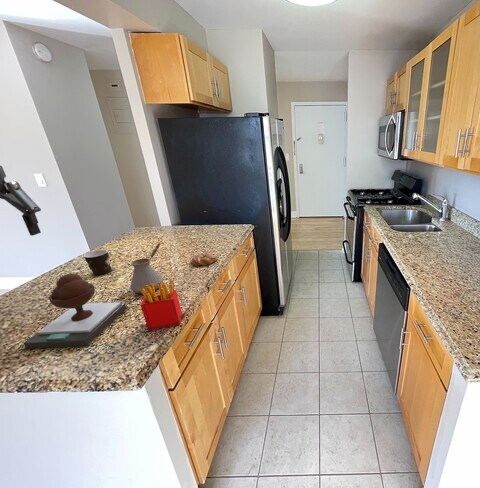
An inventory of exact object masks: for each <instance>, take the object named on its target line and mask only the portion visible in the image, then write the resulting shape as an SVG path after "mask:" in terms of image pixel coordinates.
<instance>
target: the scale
mask: <svg viewBox="0 0 480 488" xmlns="http://www.w3.org/2000/svg"><path fill="white" fill-rule="evenodd" d="M82 308H83V310H91V311H92V312H93V314H92V315H91V316H90V317H88V318H86V319H84V320H80V321H72V319H71V317H72V316H73V315H74V314H76V313H77V311H76V309H75V308H73V309H70V308H68V309H67V310H66V311H65V312H64V313H62V314H61V315H59V316H58V317H56V318H55V319H53V321H51V322H49V323H48V324H47V325H46V326H44V327H43V328H41V329H40V330H39V331H37V332H36V333H34V335H32V336H31V337H30V338H28V339H26V340H25V341H23V342H22V344H23V346H24V347H25V349H26V350H33V349H36V350H37V349H38V350H39V349H55V348H57V349H58V348H77V347H88V345H90V344H91V343H92V342H93V341H94V340H95V339H96V338H97V337H98V336H100V334H102V332H103V331H104V330H105V329H107V328H108V327H109V326H110V325H111V324H112V323H113V322H114V321H115V320H116V319H117V318H118V317H120V316H121V314H123V313H124V312H125V311H126V310H127V305H126V303H124V302H122V303H121V301H118V302H114V301H113V302H91V303H88V302H87V303H86V304H84V305H83V306H82Z"/></svg>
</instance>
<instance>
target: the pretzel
mask: <svg viewBox="0 0 480 488" xmlns="http://www.w3.org/2000/svg"><path fill="white" fill-rule="evenodd" d="M217 260H218V258H217V257H216V256H215V255H214V254H212V253H211V254H210V253H199V254H196V255H194V256H192V258H191V264H193V266H195V267H202V266H209V265H211V264H214V263H216V262H217Z"/></svg>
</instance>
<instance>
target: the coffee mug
mask: <svg viewBox="0 0 480 488" xmlns="http://www.w3.org/2000/svg"><path fill="white" fill-rule="evenodd" d="M83 258H84V259H85V262H86V263H87V266H88V268H89V270H91V272H92V274H93V275H94V277H95V276H96V277H100V276H105V275H107V274H110V273H111V272H112V266H111V260H110V255H109V250H107V249H97V250H92V251H88V252H86V253H85V254H84V255H83Z"/></svg>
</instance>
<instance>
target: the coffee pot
mask: <svg viewBox="0 0 480 488" xmlns="http://www.w3.org/2000/svg"><path fill="white" fill-rule="evenodd" d="M161 246H164V244H163V243H160V242H158V243H157V244H156V245H155V248H154V249H153V251H152V252H151V254H150V257H149V258H148V257H147V258H146V257H145V258H144V257H143V258H138V259H135V260H133V261H131V263H130V265H131V266H133V271H132V272H133V273H132V277H131V282H130V285H129V288H130V291H132V292H133V293H137V294H141V295H143V293H142V292H141V289H145V291H146V288H145V286H146V285H148V286H149V287H151V286H150V284H154V288H155V291H157V290H159V288H158V282H161V284H164V278H163V277H162V276H161V274H160V273H158V272H157V271H156V269H154V267H153V266H152V265H151V261H152V259H153V258H154V256H155V255H156V253H157V252H158V249H159V248H160V247H161Z"/></svg>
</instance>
